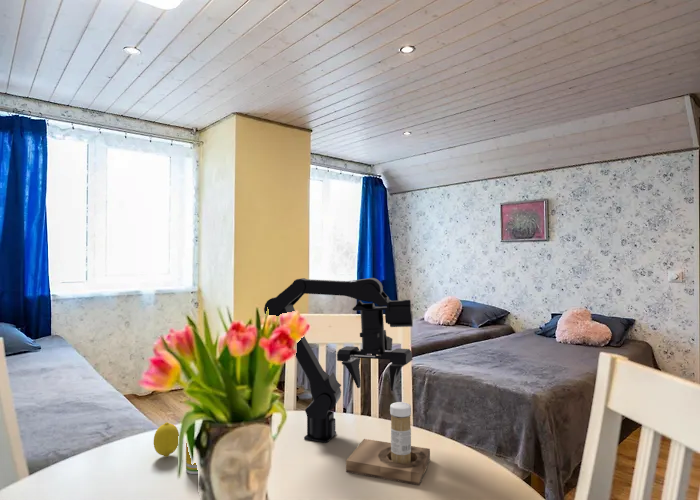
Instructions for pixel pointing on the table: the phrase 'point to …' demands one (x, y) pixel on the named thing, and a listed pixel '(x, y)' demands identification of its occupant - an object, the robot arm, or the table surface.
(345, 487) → the table surface
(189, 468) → the supplement bottle
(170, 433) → the lemon
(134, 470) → the table surface
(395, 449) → the sprinkles bottle
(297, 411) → the table surface
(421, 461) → the board
